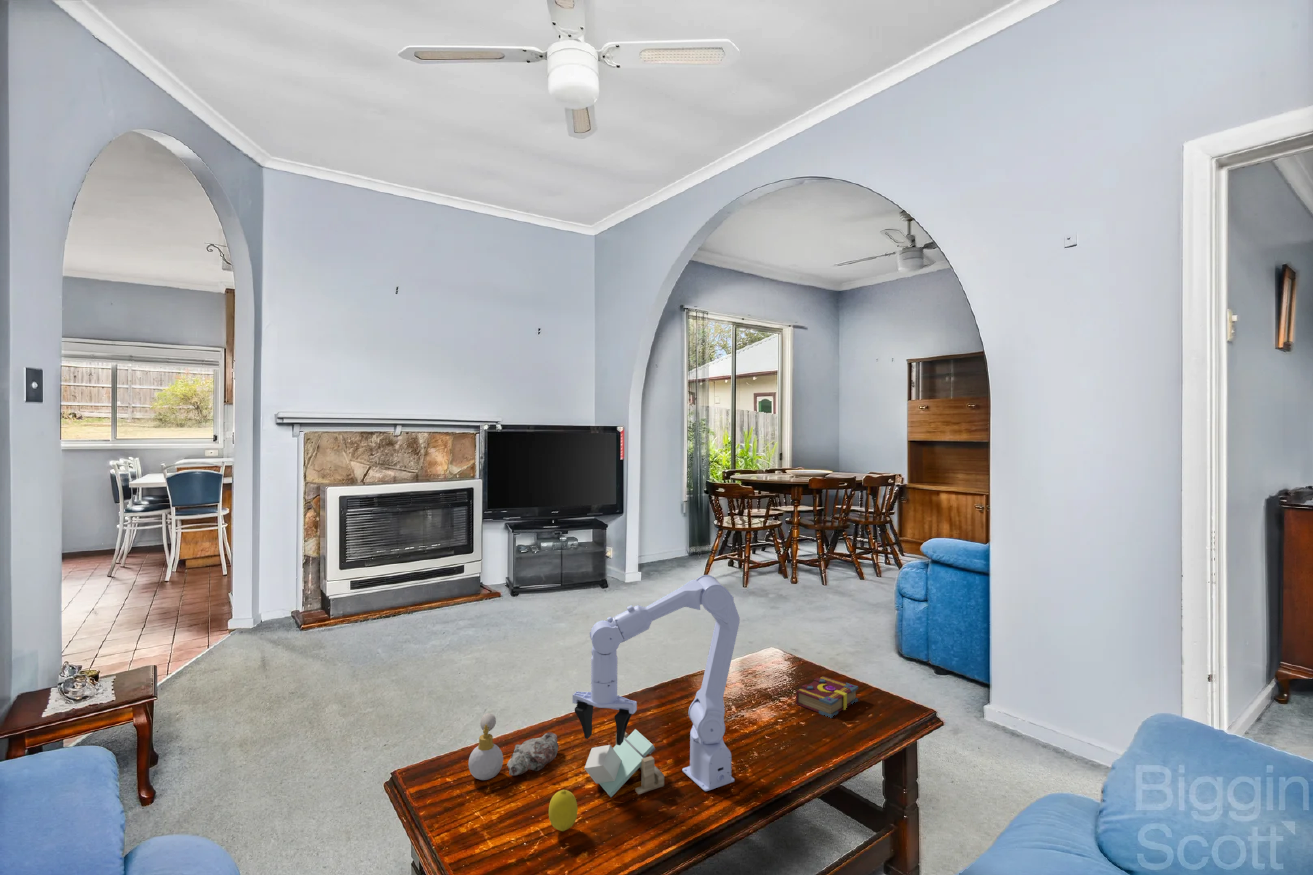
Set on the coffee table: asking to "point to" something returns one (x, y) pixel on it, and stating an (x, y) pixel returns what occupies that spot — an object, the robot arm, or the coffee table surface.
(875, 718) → the coffee table surface
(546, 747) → the mineral rock
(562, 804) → the lemon
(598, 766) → the white cube
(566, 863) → the coffee table surface
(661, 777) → the frame
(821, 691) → the decorative book
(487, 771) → the perfume bottle
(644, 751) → the trapdoor
